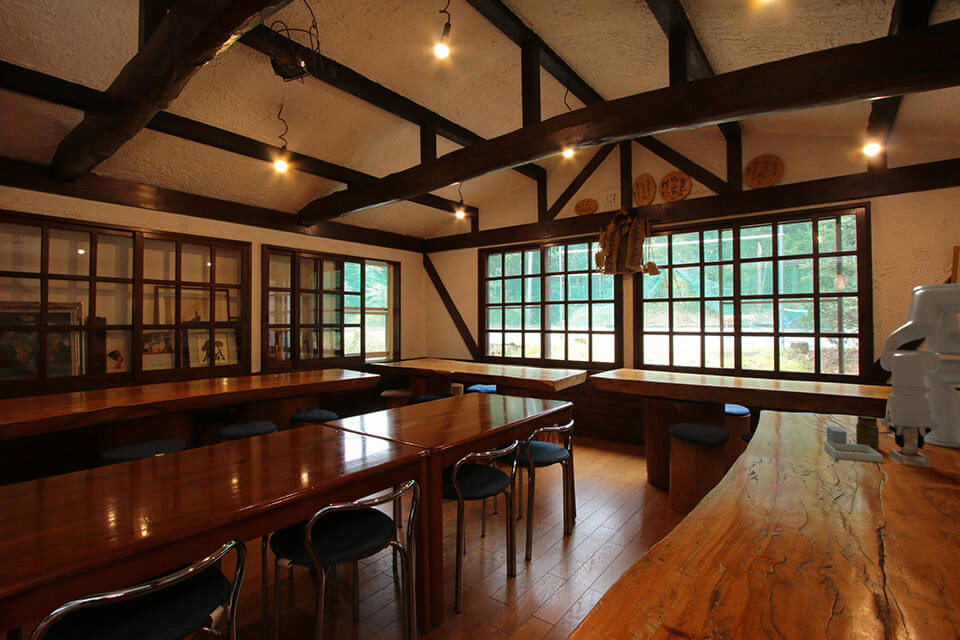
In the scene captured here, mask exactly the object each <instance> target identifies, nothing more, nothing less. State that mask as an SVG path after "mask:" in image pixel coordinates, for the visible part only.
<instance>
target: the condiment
mask: <svg viewBox="0 0 960 640" xmlns="http://www.w3.org/2000/svg"><path fill="white" fill-rule="evenodd" d="M855 428H856V431H855V432H856V433H855V434H856V435H855V436H856V443H855V444H858V445H868V446H870V447H871V448H872V449H874V450H875V451H877V450H880V440H879V439H880V437H879V436H880V435H879V432H880V431H879V429H880V428H879V426H878V418H877V417H874V416H870V415H869V416H868V415H859V416H858V415H857V423H856V425H855Z"/></svg>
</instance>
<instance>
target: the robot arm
mask: <svg viewBox="0 0 960 640" xmlns="http://www.w3.org/2000/svg"><path fill="white" fill-rule="evenodd" d="M908 309H909V310H908V313H907V318H906V322H905V324H903V325H902V326H900V327H898V328H897V329H895V330H894V331H893V332H892V333H890V334H889V335H888V336H887V337H886V339H885V341H884V342H883V345H882V347H881V349H882V350H881V353H880V357H879V358H880V359H879V361H880V362H879V363H880V366H881V368H883V370H885V371H888V372H891V389H892V390H891V391H892V393H889V394H888V396H887V402H886V406H885V407H886V408H885V417H884V418H883V419H882V420H881V421H880V425H882V426H883V427H885V428H887V429H889V430H890V431H891V432H892V433H894V443H895V444H896V445H897V446H898V447H899V448H900V449H901V448H903V447H904V439H903V435H902V433H901V432H902V428H903V426H908V427H915V428H918V449H919V450H923V447H925V444H930V445H935V446H942V447H948V448H959V449H960V392H959V391H958V390H957V389H956V388H955V387H953V386H960V359H954V358H953V359H951V358H940V357H939V356H955V357H960V322H959V319H960V318H959V315H958V314H957V313H960V282H956V283H937V284H935V283H933V284H924V285H919V286H916V287H914V288H913V289H912V291H911V301H910V305H909V308H908ZM923 338H924V339H925V343H926V349H927V351H925V350H923V351H922V350H905V349H899V347H901V346H902V345H905V344H907V343H909V342H913V341H916V340H921V339H923ZM891 424H892V425H891Z"/></svg>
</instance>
